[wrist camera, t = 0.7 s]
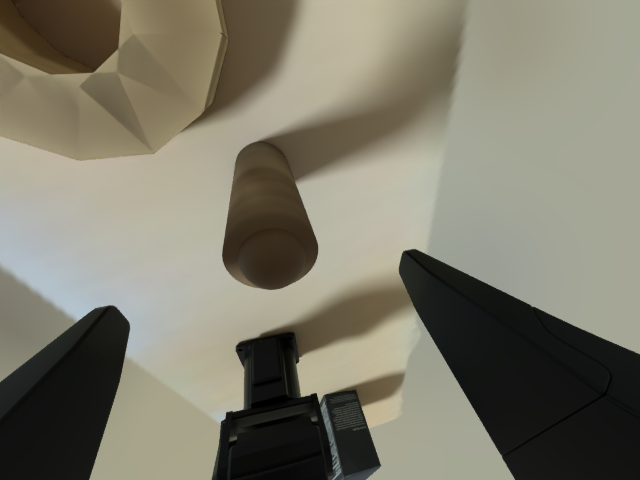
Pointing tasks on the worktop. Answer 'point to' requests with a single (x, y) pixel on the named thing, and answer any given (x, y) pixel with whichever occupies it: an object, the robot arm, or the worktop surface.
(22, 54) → the bead
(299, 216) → the brown cylinder
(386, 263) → the worktop surface
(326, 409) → the small box
